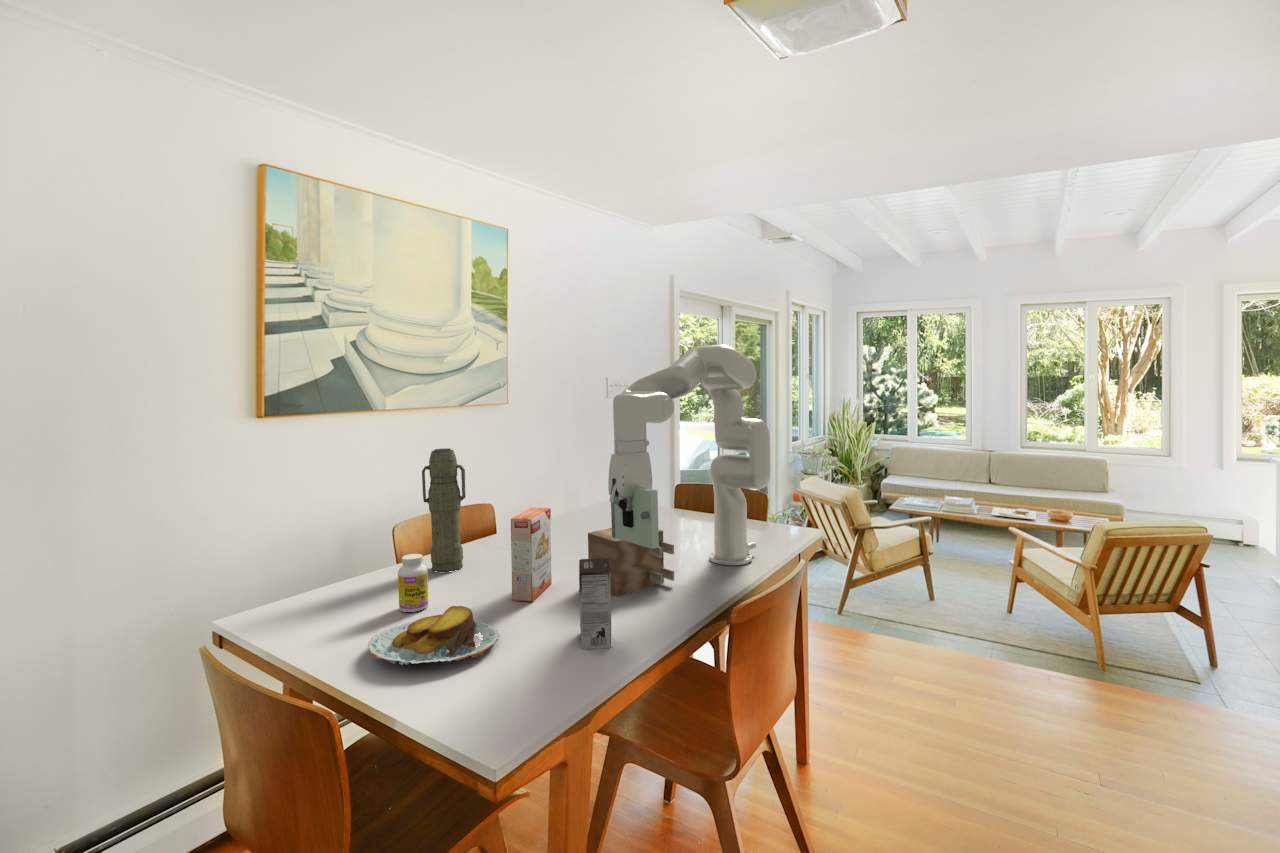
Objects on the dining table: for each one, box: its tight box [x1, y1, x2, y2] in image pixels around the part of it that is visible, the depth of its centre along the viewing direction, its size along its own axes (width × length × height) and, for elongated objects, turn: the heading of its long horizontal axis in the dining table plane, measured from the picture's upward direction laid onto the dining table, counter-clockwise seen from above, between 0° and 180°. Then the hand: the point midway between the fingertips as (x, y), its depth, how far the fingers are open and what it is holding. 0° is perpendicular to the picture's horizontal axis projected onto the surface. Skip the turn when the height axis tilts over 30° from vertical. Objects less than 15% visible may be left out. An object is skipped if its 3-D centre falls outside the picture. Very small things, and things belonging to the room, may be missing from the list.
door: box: [610, 487, 660, 549], centre depth 142 cm, size 3×15×13 cm, turn 40°
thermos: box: [421, 448, 466, 573], centre depth 178 cm, size 9×12×35 cm
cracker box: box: [510, 507, 552, 603], centre depth 157 cm, size 14×6×21 cm, turn 168°
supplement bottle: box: [397, 553, 429, 613], centre depth 147 cm, size 7×7×13 cm
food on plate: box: [367, 605, 500, 666], centre depth 126 cm, size 26×25×7 cm
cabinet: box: [587, 527, 675, 597], centre depth 161 cm, size 16×16×14 cm
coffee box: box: [578, 558, 612, 650], centre depth 128 cm, size 9×6×16 cm
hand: (632, 525), depth 143 cm, fingers closed on door, 2 cm apart
